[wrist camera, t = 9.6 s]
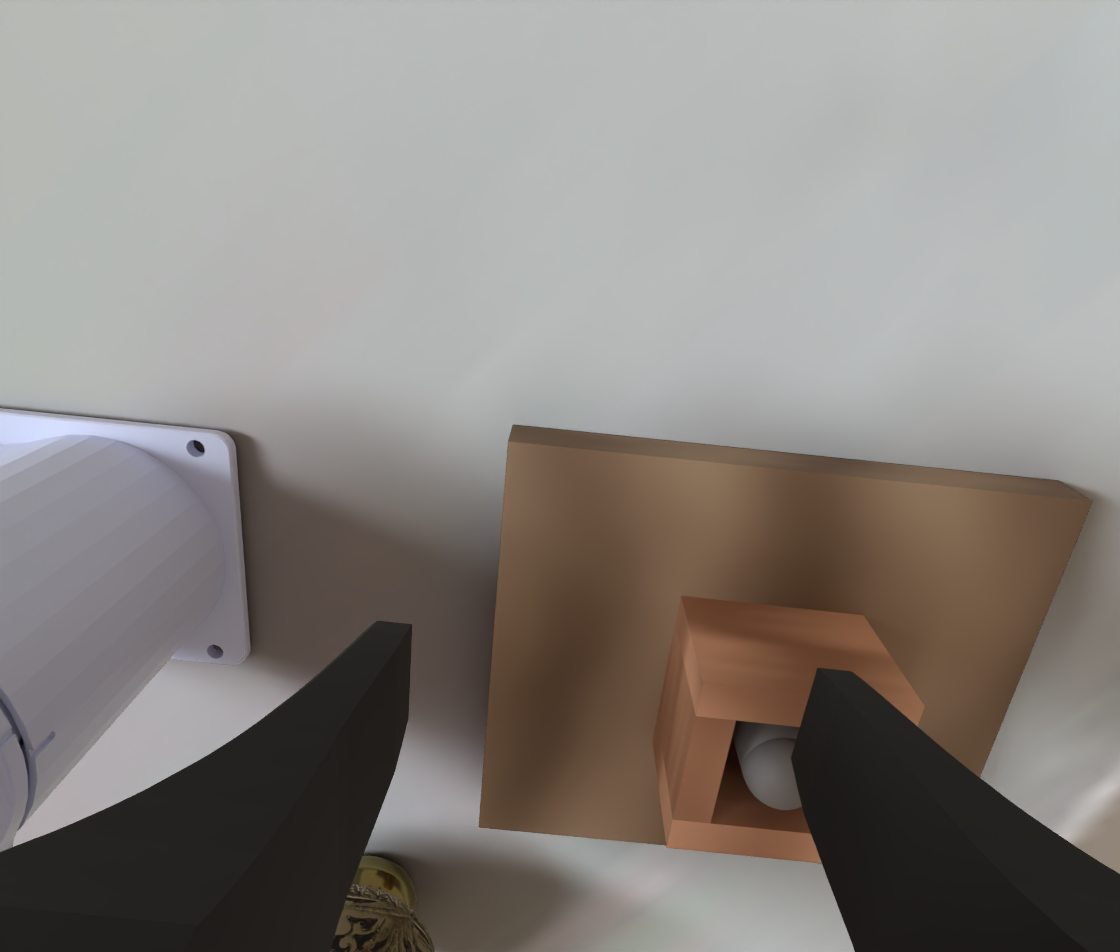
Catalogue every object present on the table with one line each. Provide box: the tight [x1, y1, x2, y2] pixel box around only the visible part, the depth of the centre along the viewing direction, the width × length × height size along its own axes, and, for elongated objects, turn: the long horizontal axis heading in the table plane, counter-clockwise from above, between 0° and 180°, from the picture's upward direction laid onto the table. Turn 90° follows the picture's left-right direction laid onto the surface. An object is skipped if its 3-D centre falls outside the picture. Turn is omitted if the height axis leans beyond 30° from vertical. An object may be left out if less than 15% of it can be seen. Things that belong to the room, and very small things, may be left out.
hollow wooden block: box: [652, 596, 925, 863], centre depth 20 cm, size 5×5×4 cm
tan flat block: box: [479, 425, 1093, 845], centre depth 20 cm, size 16×14×6 cm
